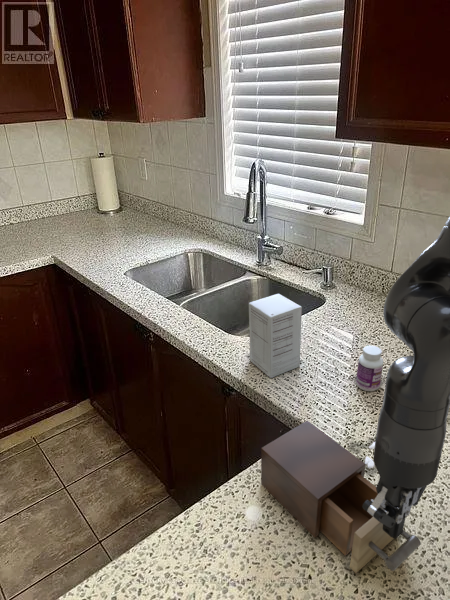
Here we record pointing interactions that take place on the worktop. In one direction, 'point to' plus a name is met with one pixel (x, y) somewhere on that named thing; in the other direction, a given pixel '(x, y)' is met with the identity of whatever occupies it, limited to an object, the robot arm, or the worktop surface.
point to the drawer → (360, 526)
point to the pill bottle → (369, 369)
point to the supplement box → (275, 334)
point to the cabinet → (306, 471)
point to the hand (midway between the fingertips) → (392, 531)
